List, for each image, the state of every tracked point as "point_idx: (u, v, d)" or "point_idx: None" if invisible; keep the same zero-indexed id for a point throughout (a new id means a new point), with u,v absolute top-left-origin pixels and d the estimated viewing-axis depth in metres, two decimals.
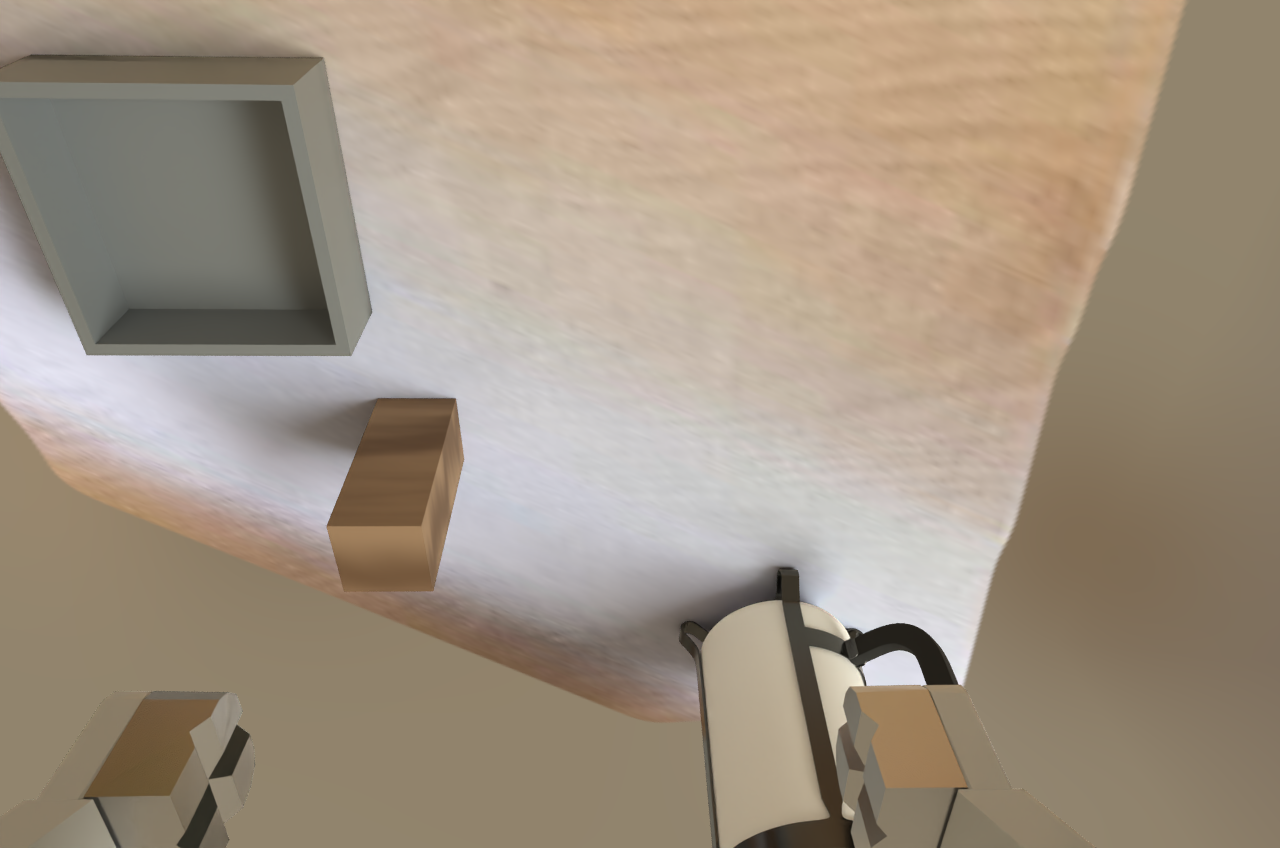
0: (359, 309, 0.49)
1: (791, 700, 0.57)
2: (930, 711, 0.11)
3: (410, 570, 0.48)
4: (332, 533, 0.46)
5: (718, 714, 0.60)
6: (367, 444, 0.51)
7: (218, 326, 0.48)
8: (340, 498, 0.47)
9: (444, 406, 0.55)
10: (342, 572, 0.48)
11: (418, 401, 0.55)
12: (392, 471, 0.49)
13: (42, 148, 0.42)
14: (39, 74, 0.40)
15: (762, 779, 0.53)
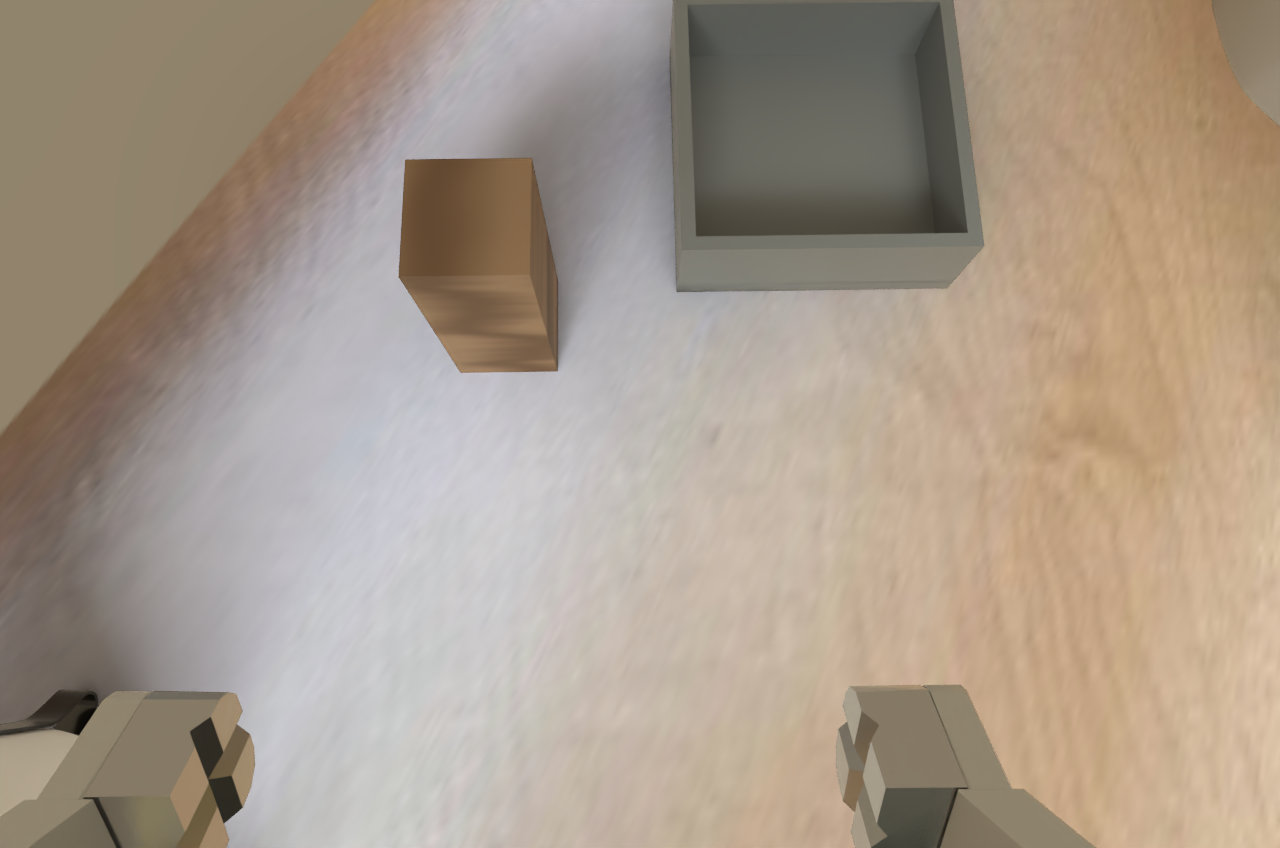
0: (704, 275, 0.43)
1: None
2: (930, 711, 0.11)
3: (443, 250, 0.33)
4: (518, 163, 0.34)
5: None
6: (549, 249, 0.41)
7: None
8: (538, 190, 0.36)
9: (555, 354, 0.44)
10: (444, 163, 0.34)
11: (557, 325, 0.45)
12: (543, 266, 0.38)
13: (871, 29, 0.46)
14: None
15: None
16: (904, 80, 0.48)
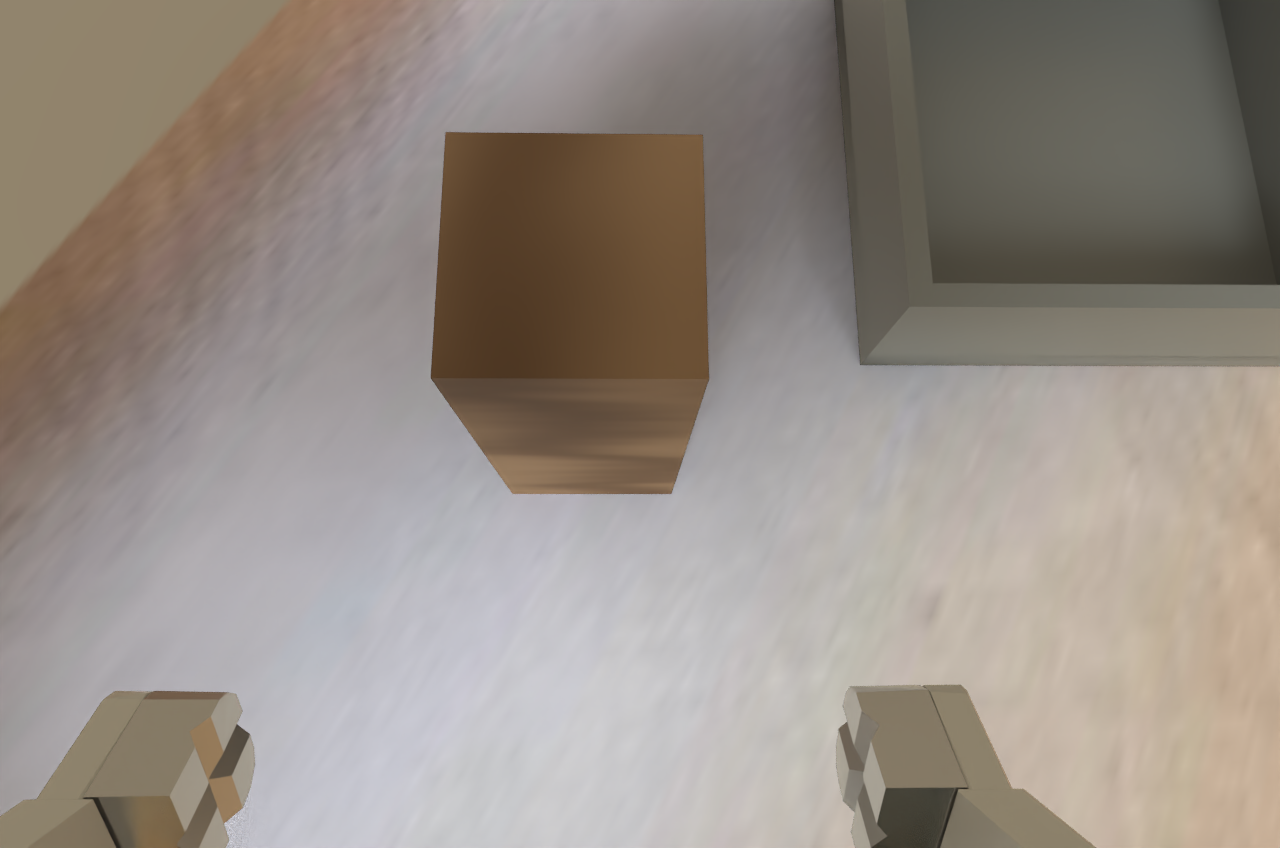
0: (921, 343, 0.26)
1: None
2: (930, 711, 0.11)
3: (524, 322, 0.16)
4: (676, 144, 0.17)
5: None
6: None
7: None
8: None
9: None
10: (526, 141, 0.17)
11: None
12: None
13: None
14: None
15: None
16: (1205, 38, 0.31)
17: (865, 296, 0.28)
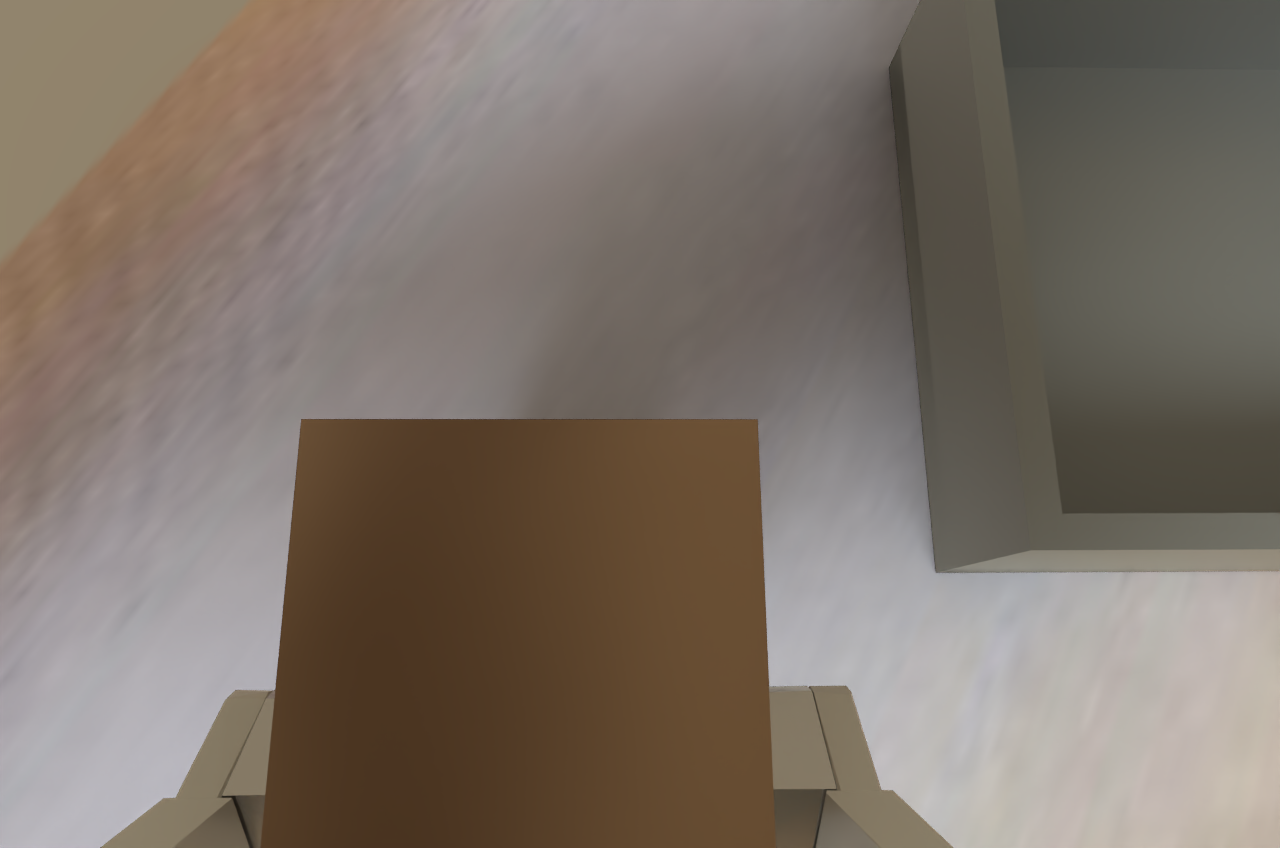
0: (1028, 564, 0.19)
1: None
2: (810, 712, 0.11)
3: (435, 806, 0.08)
4: (712, 438, 0.09)
5: None
6: None
7: None
8: None
9: None
10: (444, 435, 0.09)
11: None
12: None
13: None
14: None
15: None
16: None
17: (944, 486, 0.20)
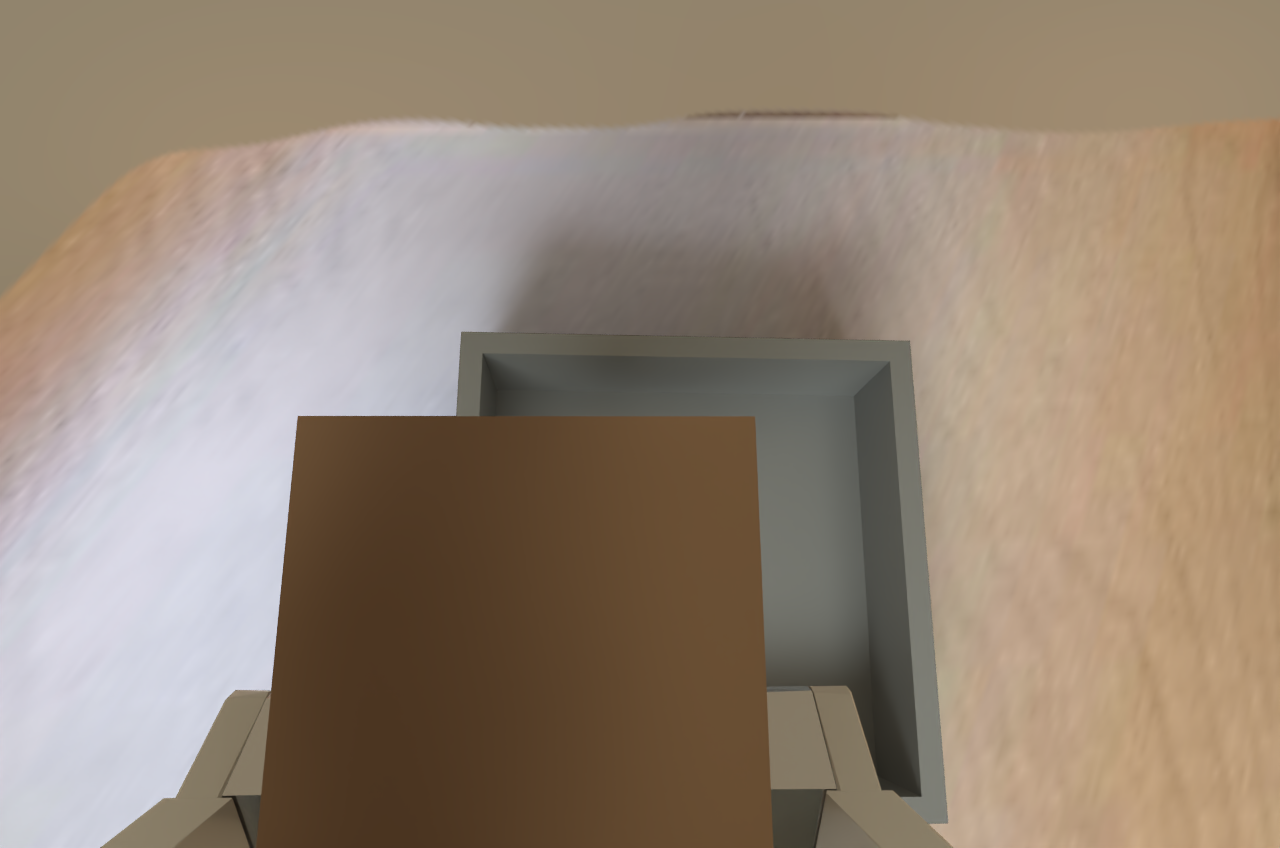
0: None
1: None
2: (810, 712, 0.11)
3: (431, 804, 0.08)
4: (709, 435, 0.09)
5: None
6: None
7: None
8: None
9: None
10: (440, 432, 0.09)
11: None
12: None
13: (784, 378, 0.29)
14: None
15: None
16: (835, 441, 0.31)
17: None
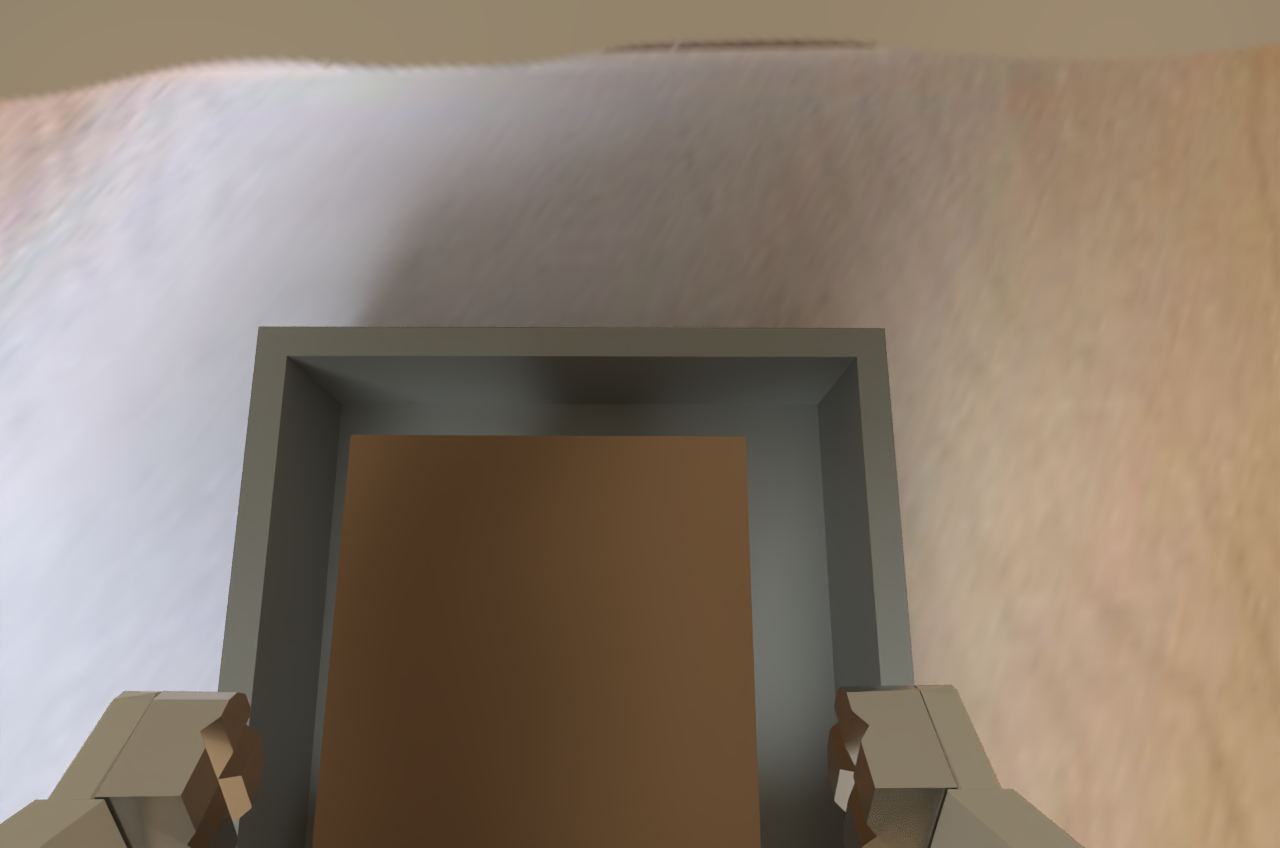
0: None
1: None
2: (920, 711, 0.11)
3: (466, 767, 0.10)
4: (706, 452, 0.11)
5: None
6: None
7: (294, 625, 0.20)
8: None
9: None
10: (474, 449, 0.11)
11: None
12: None
13: (718, 382, 0.22)
14: None
15: None
16: (793, 465, 0.23)
17: None
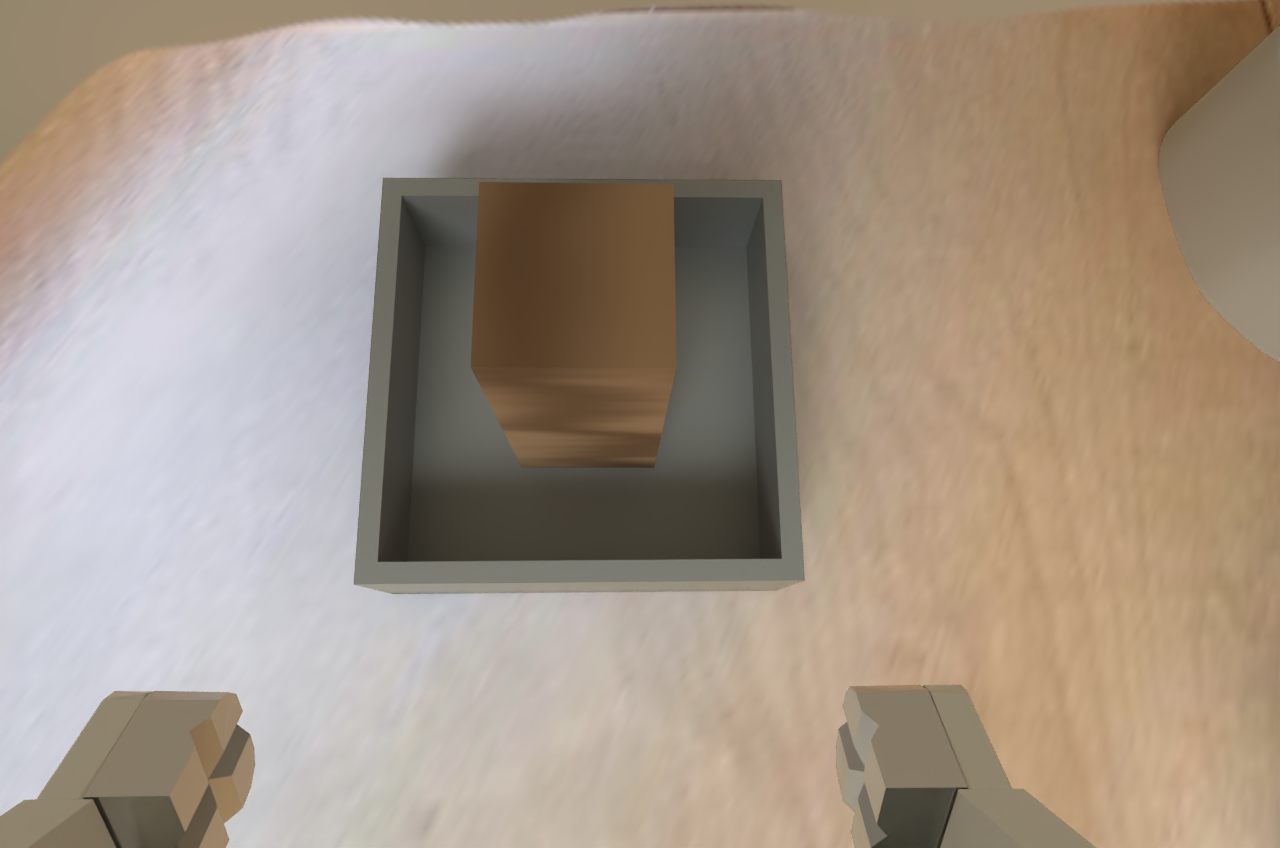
0: (415, 589, 0.30)
1: None
2: (930, 711, 0.11)
3: (539, 325, 0.21)
4: (653, 191, 0.22)
5: None
6: None
7: (405, 370, 0.31)
8: None
9: None
10: (539, 189, 0.22)
11: None
12: None
13: (677, 223, 0.33)
14: None
15: None
16: (729, 286, 0.34)
17: None
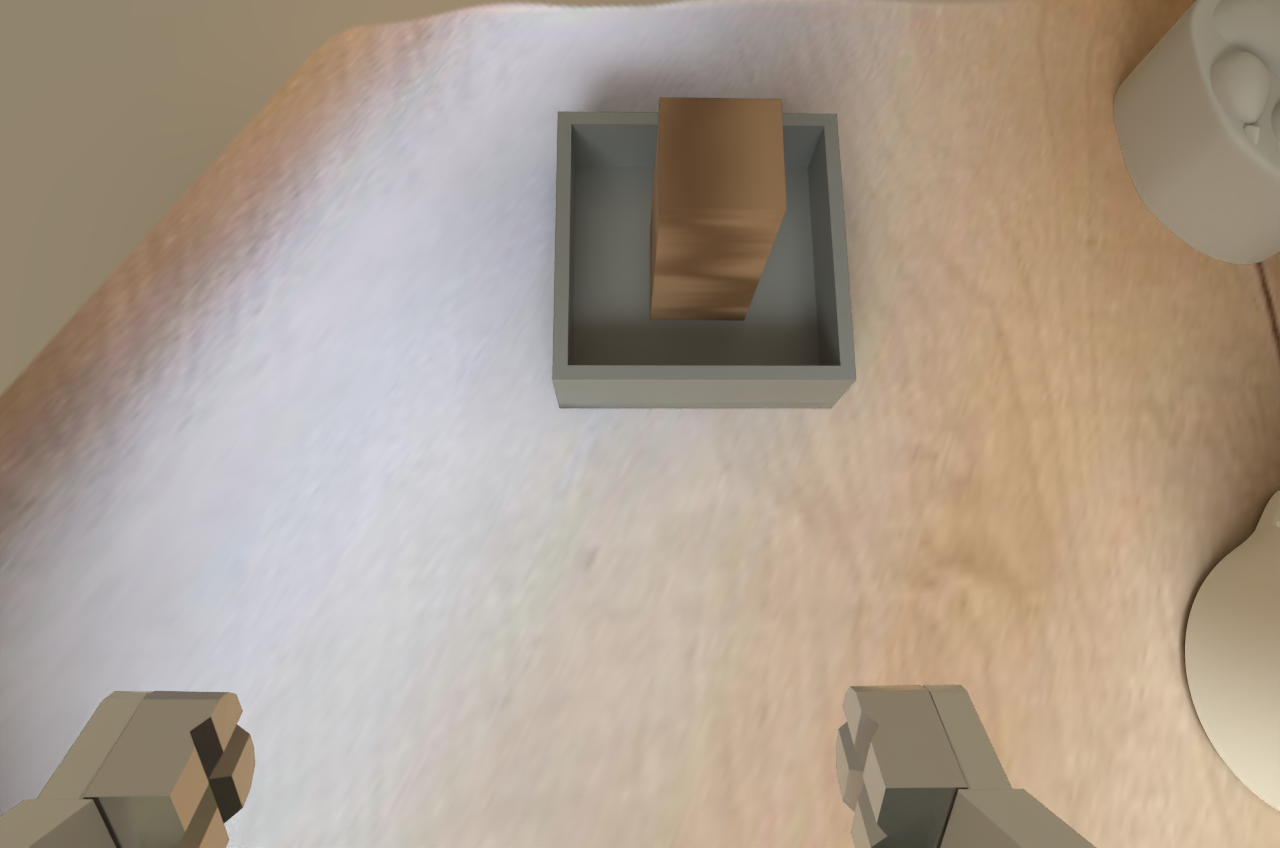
0: (583, 396, 0.43)
1: None
2: (930, 711, 0.11)
3: (701, 183, 0.34)
4: (769, 103, 0.35)
5: None
6: None
7: None
8: None
9: None
10: (697, 101, 0.35)
11: None
12: None
13: None
14: None
15: None
16: (795, 195, 0.48)
17: None
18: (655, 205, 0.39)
